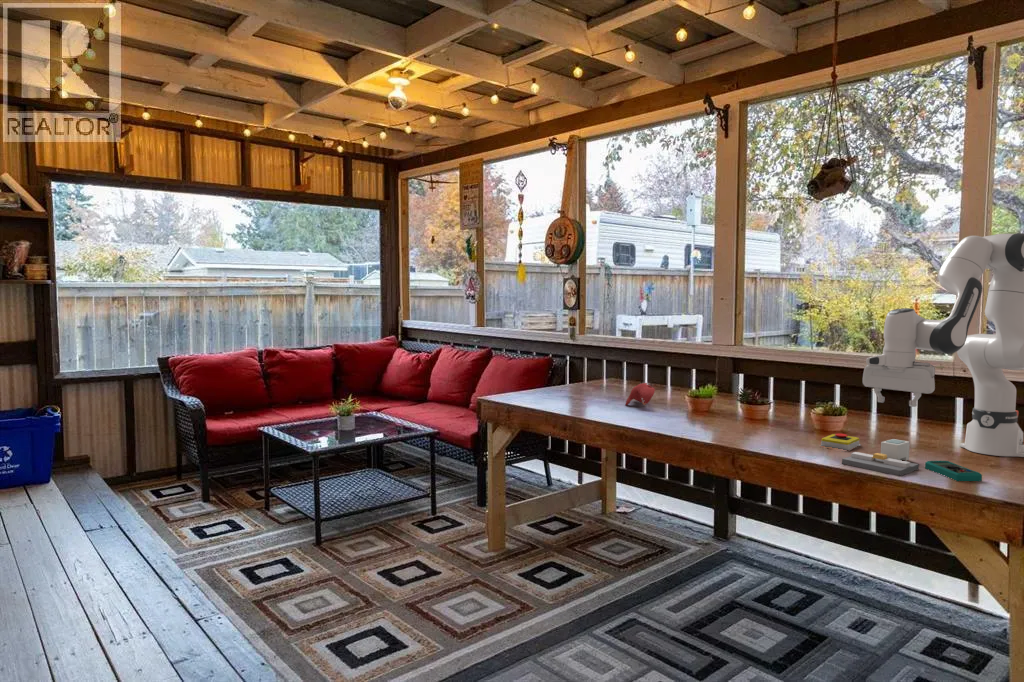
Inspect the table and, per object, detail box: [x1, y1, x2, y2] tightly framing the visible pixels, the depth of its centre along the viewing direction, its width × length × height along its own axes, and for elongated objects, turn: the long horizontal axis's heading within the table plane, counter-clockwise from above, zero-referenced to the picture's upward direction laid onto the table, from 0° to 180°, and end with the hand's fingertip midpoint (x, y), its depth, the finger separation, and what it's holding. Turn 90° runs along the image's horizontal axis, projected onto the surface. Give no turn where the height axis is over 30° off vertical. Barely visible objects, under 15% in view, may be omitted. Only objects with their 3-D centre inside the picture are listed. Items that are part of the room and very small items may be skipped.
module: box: [880, 438, 911, 462], centre depth 209 cm, size 8×5×6 cm, turn 126°
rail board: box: [841, 451, 920, 477], centre depth 202 cm, size 12×17×3 cm
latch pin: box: [872, 452, 887, 460], centre depth 202 cm, size 2×3×1 cm
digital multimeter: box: [924, 460, 983, 482], centre depth 193 cm, size 7×15×3 cm, turn 2°
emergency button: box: [820, 433, 862, 451], centre depth 229 cm, size 9×4×15 cm
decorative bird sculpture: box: [624, 382, 656, 406], centre depth 311 cm, size 28×9×15 cm
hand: (896, 404), depth 208 cm, fingers open, 8 cm apart
